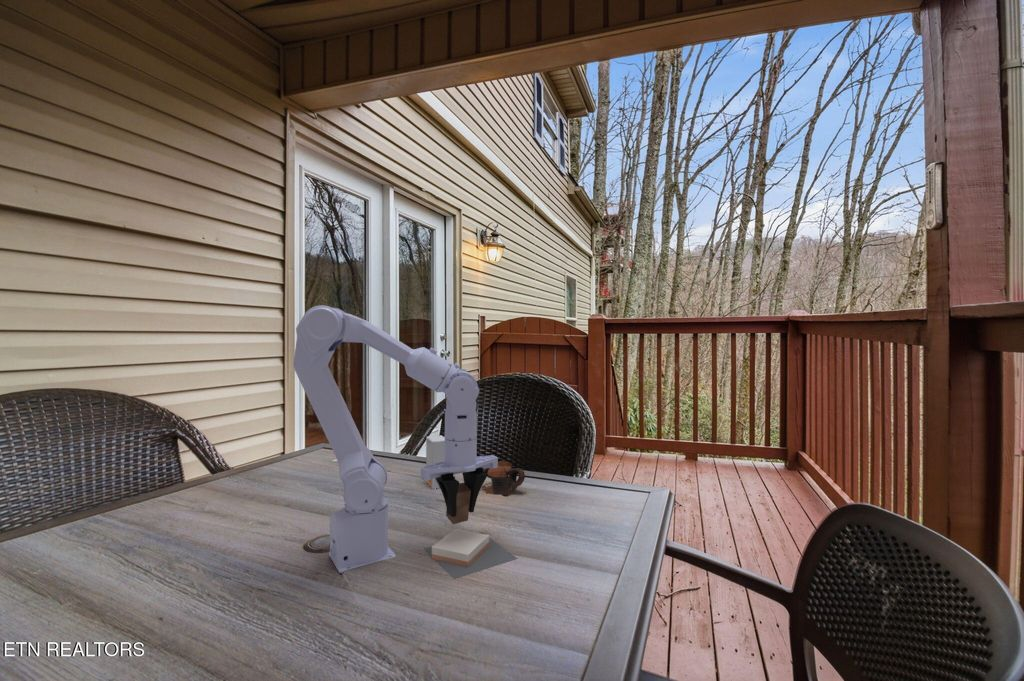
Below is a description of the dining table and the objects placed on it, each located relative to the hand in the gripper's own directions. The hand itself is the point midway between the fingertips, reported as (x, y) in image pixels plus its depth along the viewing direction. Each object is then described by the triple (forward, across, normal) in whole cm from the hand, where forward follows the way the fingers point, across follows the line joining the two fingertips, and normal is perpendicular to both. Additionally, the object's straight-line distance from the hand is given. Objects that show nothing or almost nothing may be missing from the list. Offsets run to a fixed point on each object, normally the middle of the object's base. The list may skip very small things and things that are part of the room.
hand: (460, 512), depth 85 cm
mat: (+7, 0, -4) cm, 7 cm away
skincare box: (+7, +11, +34) cm, 37 cm away
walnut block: (+2, 0, +2) cm, 2 cm away
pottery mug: (+7, +23, +22) cm, 32 cm away
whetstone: (+5, -3, +1) cm, 6 cm away
